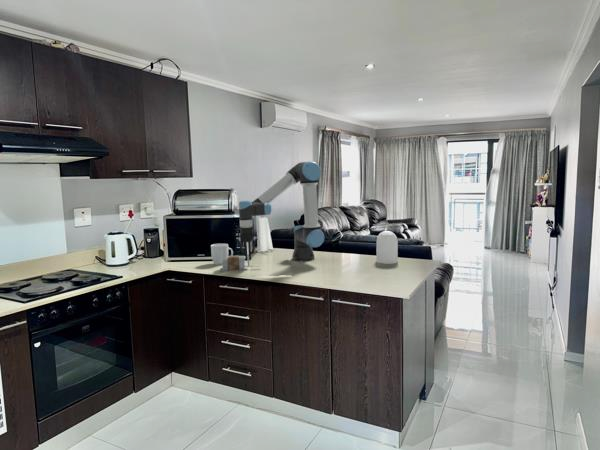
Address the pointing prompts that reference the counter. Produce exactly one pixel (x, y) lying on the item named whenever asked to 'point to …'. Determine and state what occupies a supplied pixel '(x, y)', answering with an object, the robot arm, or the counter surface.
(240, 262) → the free jaw
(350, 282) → the counter surface
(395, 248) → the container
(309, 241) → the robot arm
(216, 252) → the mug
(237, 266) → the block
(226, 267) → the fixed jaw
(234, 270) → the vise base
